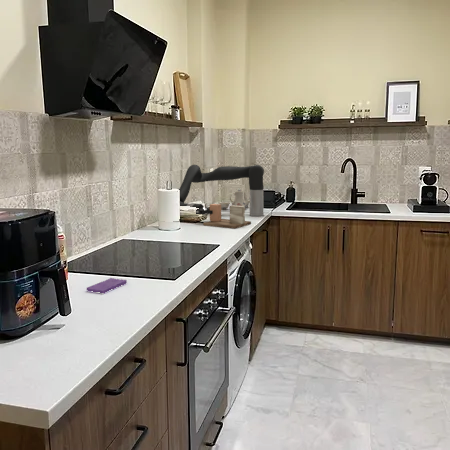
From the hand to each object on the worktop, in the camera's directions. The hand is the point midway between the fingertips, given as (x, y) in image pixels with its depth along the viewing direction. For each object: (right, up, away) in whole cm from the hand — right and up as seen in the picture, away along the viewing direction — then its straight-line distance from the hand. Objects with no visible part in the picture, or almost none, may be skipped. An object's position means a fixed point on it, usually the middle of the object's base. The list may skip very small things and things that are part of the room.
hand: (216, 211), depth 276 cm
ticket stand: (+7, -8, -3) cm, 11 cm away
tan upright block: (-1, -5, +2) cm, 6 cm away
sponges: (-35, -30, -119) cm, 128 cm away
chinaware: (+14, +3, +60) cm, 62 cm away
